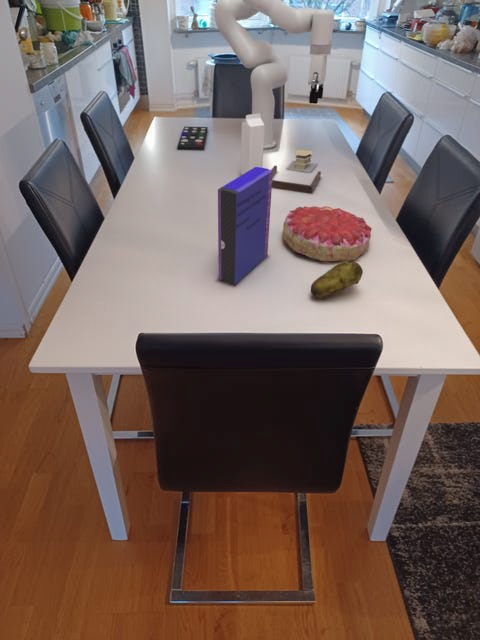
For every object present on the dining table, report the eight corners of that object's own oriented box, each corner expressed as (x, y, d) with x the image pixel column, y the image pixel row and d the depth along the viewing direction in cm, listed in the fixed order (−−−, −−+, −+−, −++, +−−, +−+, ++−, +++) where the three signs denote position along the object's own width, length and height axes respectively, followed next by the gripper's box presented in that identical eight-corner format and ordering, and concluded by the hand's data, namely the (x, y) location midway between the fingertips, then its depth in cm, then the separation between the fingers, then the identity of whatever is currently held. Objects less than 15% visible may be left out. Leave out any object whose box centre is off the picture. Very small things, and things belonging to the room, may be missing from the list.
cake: (262, 238, 132) (266, 213, 127) (313, 216, 148) (318, 192, 143) (334, 276, 120) (341, 249, 115) (381, 246, 136) (389, 222, 131)
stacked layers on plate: (309, 172, 179) (311, 158, 176) (287, 169, 182) (288, 155, 178) (316, 164, 187) (318, 150, 183) (295, 161, 189) (296, 147, 186)
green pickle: (304, 284, 116) (307, 256, 111) (353, 282, 117) (359, 254, 112) (311, 303, 110) (315, 274, 105) (364, 301, 111) (370, 272, 106)
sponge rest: (274, 171, 179) (274, 165, 178) (320, 178, 175) (321, 171, 173) (262, 186, 167) (263, 179, 166) (311, 193, 163) (312, 186, 161)
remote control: (177, 149, 198) (177, 145, 197) (184, 129, 222) (184, 125, 221) (203, 150, 198) (203, 145, 197) (207, 130, 222) (207, 125, 221)
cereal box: (252, 251, 129) (255, 165, 114) (267, 256, 127) (272, 169, 112) (218, 280, 117) (217, 188, 102) (234, 285, 115) (236, 193, 100)
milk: (262, 177, 174) (265, 115, 161) (248, 180, 172) (250, 117, 158) (253, 172, 178) (256, 111, 165) (240, 174, 176) (241, 112, 163)
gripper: (314, 46, 177) (310, 95, 187) (305, 52, 164) (301, 104, 174) (334, 47, 175) (329, 96, 185) (326, 53, 162) (321, 106, 172)
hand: (315, 100), depth 180 cm, fingers open, 9 cm apart
